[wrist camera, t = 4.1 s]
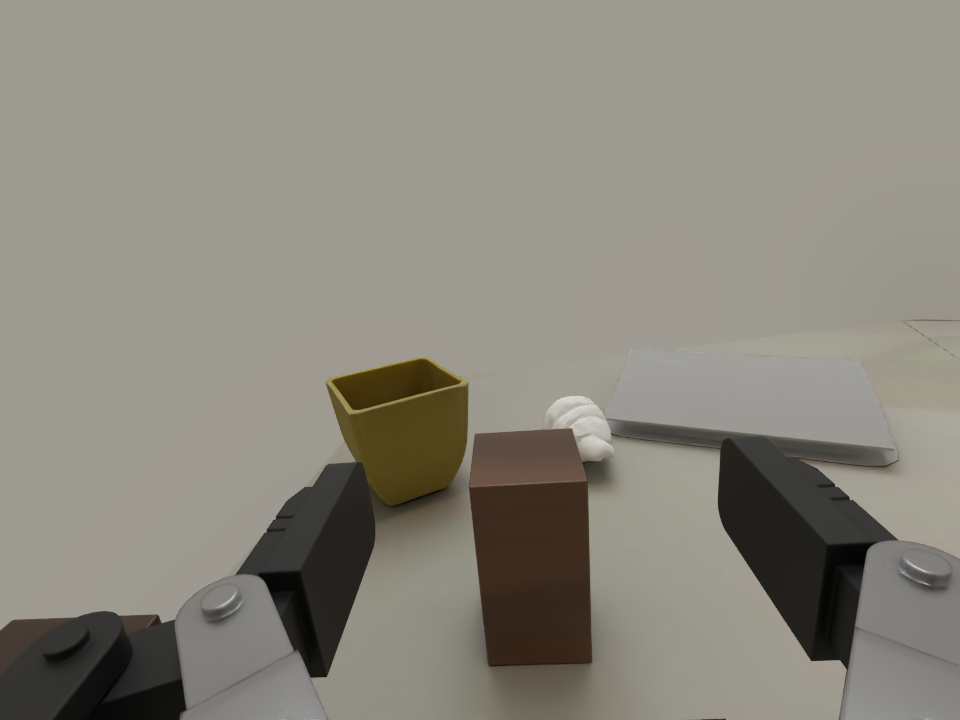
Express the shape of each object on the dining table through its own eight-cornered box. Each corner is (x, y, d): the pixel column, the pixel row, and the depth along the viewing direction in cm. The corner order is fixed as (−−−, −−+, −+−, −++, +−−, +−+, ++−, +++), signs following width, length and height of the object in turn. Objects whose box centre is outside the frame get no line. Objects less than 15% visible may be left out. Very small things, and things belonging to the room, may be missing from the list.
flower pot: (342, 476, 43) (323, 377, 40) (437, 447, 46) (426, 353, 44) (370, 532, 35) (349, 414, 33) (481, 491, 39) (471, 382, 36)
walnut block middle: (592, 662, 24) (587, 480, 21) (488, 666, 25) (468, 487, 21) (577, 585, 29) (572, 427, 26) (490, 589, 29) (474, 433, 26)
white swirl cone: (574, 493, 38) (572, 427, 36) (537, 458, 43) (534, 399, 41) (636, 474, 39) (637, 410, 38) (593, 442, 45) (592, 385, 43)
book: (623, 375, 59) (623, 343, 58) (864, 392, 50) (870, 354, 48) (592, 433, 46) (591, 394, 45) (910, 472, 36) (920, 422, 35)
